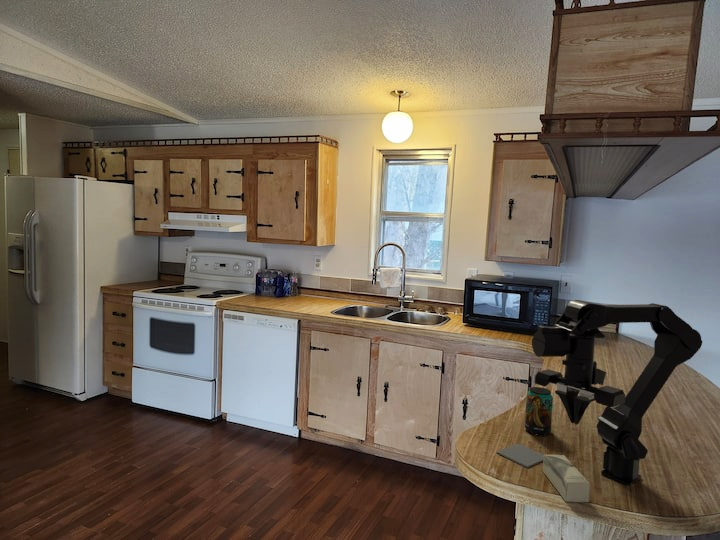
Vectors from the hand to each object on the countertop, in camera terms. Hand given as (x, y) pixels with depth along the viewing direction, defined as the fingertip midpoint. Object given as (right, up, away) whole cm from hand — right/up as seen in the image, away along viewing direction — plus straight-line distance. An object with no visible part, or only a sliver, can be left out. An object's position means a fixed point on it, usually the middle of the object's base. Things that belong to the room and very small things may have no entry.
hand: (574, 423), depth 109 cm
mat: (-8, -12, +11) cm, 18 cm away
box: (-4, -11, +4) cm, 12 cm away
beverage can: (+2, -11, +27) cm, 29 cm away
